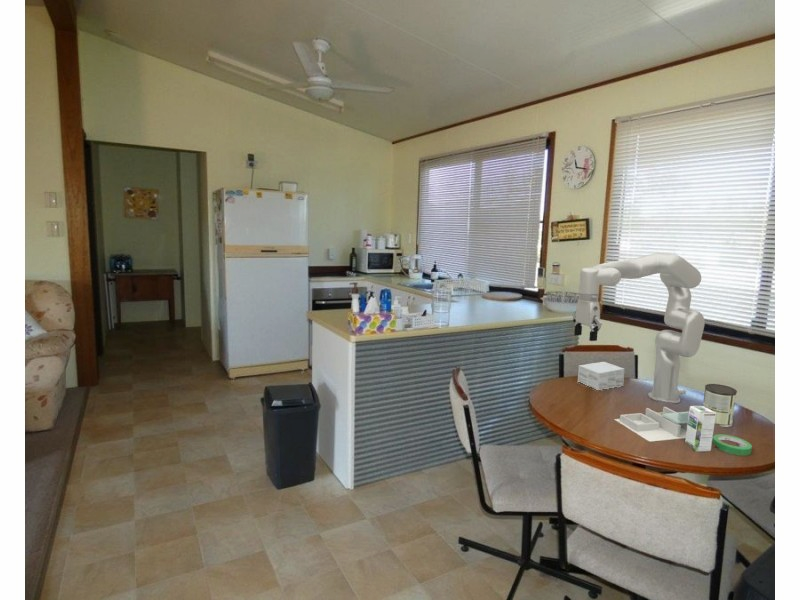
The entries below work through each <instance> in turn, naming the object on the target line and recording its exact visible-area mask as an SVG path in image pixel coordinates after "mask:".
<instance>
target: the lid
mask: <svg viewBox="0 0 800 600" xmlns="http://www.w3.org/2000/svg"><path fill="white" fill-rule="evenodd" d="M675 412H676V411H675ZM662 416H663V417H665V418H667V419H669V420H671V421H673V422H675V423H677V424H680V423H688V417H689V410H687V411H678V412H676V413H664V414H662Z"/></svg>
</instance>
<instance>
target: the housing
mask: <svg viewBox="0 0 800 600" xmlns="http://www.w3.org/2000/svg"><path fill="white" fill-rule="evenodd" d="M658 413H676V411H675V410H673V409H671V408H669V407H667V406H663V407H662V411H661V412H660V411H659V412H657V411H655V410H652V409H651V408H649V407H646V408H645V414H643V413H641V412H638V413H626V414H620V415H619V418H613V419H614V421H616V422H617V423H619V424H620V425H622V426H624V427H626V428H627V429H629V430H630V431H632V432H633V433H635V434H636V435H638V436H639V437H641V438H643V439H644V440H646V441H647V442H657V441H658V442H659V441H669V440H679V439H686V432H687V425H688V423H680V424H677V423H675V422H673V421H671V420H669V419H667V418H665V417H663V416H662V415H660V414H658Z"/></svg>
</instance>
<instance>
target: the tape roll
mask: <svg viewBox="0 0 800 600" xmlns="http://www.w3.org/2000/svg"><path fill="white" fill-rule="evenodd" d="M723 441H732V442H734V443H737V444H735V445H731V444H729V443H725V442H723ZM712 444H714V445H715V448H716V449H718V450H720V451H722V452H724V453H727V454H730V455H737V456H750V455H751V454H752V449H753V448H752V447H753V445H752V444H751V443H750V442H749V441H747V440H745V439H743V438H740V437H737V436H734V435H730V434H724V433H723V434H722V433H721V434H720V433H718V434H713V438H712Z"/></svg>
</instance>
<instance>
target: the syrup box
mask: <svg viewBox="0 0 800 600" xmlns="http://www.w3.org/2000/svg"><path fill="white" fill-rule="evenodd" d="M688 411H689V417H688V425H687V432H686V438H685V443H686V444H687V445H689V446H690V447H692V450H693V451H695V452H696V453H697V452H701V453H702V452H711V451H712V444H713V441H712V440H713V436H714V430H715V417H716V412H714V411H712V410H710V409H708V408H706V407H704V406H703V405H690V406H689V410H688Z"/></svg>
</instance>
